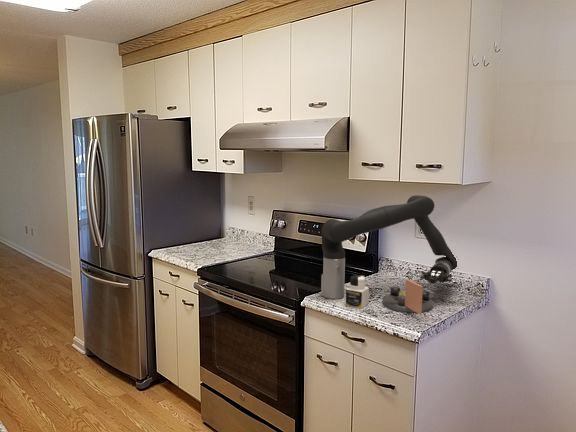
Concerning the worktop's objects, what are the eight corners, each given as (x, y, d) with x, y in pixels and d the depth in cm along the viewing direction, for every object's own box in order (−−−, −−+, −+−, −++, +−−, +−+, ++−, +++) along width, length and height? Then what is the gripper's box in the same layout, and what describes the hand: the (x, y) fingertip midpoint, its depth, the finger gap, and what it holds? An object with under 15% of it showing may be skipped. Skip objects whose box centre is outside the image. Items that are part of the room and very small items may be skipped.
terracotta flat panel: (395, 303, 184) (396, 277, 183) (404, 302, 186) (405, 276, 184) (415, 314, 171) (416, 286, 170) (425, 313, 173) (426, 285, 171)
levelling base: (375, 307, 186) (376, 294, 185) (390, 294, 203) (390, 282, 202) (426, 316, 176) (427, 302, 175) (437, 301, 194) (437, 289, 193)
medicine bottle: (345, 305, 188) (345, 276, 187) (352, 300, 194) (353, 273, 193) (361, 308, 185) (362, 279, 183) (368, 304, 190) (369, 275, 189)
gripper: (425, 261, 203) (415, 270, 188) (456, 264, 197) (449, 274, 182) (424, 277, 204) (414, 287, 189) (455, 282, 198) (448, 292, 183)
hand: (431, 281), depth 186 cm, fingers closed
